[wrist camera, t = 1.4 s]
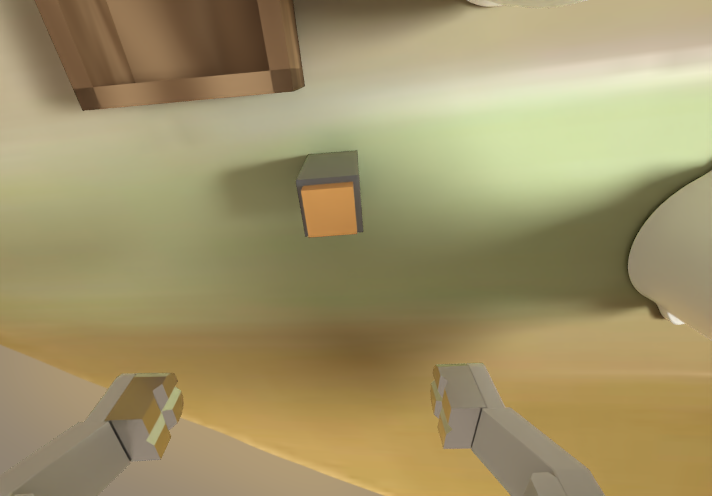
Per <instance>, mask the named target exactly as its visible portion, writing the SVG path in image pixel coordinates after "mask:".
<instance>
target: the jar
mask: <svg viewBox="0 0 712 496" xmlns="http://www.w3.org/2000/svg"><path fill="white" fill-rule="evenodd" d="M467 1H469V2H471V3H473V4H476V5H480V6H486V7H495V6H501V5H505V6H518V7H525V8H553V7H560V6H566V5H571V4H576V3H580V2H583V1H587V0H467Z"/></svg>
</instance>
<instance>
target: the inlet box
mask: <svg viewBox="0 0 712 496" xmlns="http://www.w3.org/2000/svg"><path fill="white" fill-rule="evenodd" d="M35 3H36V5H37V7H38V9H39V12H40V14H41V16H42V19H43V21H44V23H45V25H46V28H47V30H48V32H49V35H50V37H51V39H52V41H53V44H54V46H55V48H56V51H57V53H58V55H59V58H60V60H61V62H62V64H63V67H64V69H65V71H66V74H67V76H68V78H69V80H70V83H71V85H72V87H73V90H74V92H75V94H76V96H77V99H78V101H79V103H80V106H81V108H82V110H83V111H84V110H95V109H106V108H117V107H127V106H138V105H149V104H160V103H171V102H182V101H193V100H204V99H215V98H226V97H237V96H248V95H259V94H270V93H281V92H292V91H295V90H298V89H300V88H302V87H304V86H305V84H304V77H303V70H302V63H301V55H300V48H299V41H298V34H297V27H296V19H295V12H294V5H293V0H35Z"/></svg>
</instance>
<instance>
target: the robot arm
mask: <svg viewBox="0 0 712 496" xmlns="http://www.w3.org/2000/svg"><path fill="white" fill-rule="evenodd" d="M628 273H629V277H630V280H631V282H632V284H633V286H634V287H635V289H636V290H637V291H638V292H639V293H641V294H642V295H643V296H645V297H647V298H648V299H650V300H652V301H654V302H655V303H656V304H657V305H658V308H659V310H660V312H661V314H662V316H663V317H664V318H665V319H667V320H668V321H670V322H671V323H673V324H677V325H680V324H687V325H688V326H690V327H691V328H693V329H694V330H696V331H698V332H699V333H701V334H702V335H704V336H705V337H707V338H708V339H710V340H711V341H712V170H711V171H710V172H708V173H707V174H705V175H703V176H702V177H700V178H698V179H696V180H695V181H693V182H691V183H689V184H688V185H686V186H685V187H683V188H681V189H680V190H679V191H677V192H676V193H675V194H673V195H672V196H671V197H669V198H668V199H667V200H666V201H665V202H664V203H662V204H661V205H660V206H659V207H658V208H657V209H656V210H655V211H654V212H653V214H652V215H651V216H650V217H649V218H648V219H647V221H646V222H645V223H644V225H643V226H642V228H641V229H640V231H639V232H638V234H637V236H636V238H635V240H634V242H633V245H632V247H631V250H630V254H629V259H628ZM433 376H434V379H435V380H434V381H433V382H432V383H431V390H430V392H431V403H432V408H433V412H434V415H435V416H436V417H437V418H439V422H438V431H439V435H440V438H441V442H442V445H443V449H461V448H472V449H471V450H472V451H473V452H474V454H475V455H476V456H477V457H478V458H479V459H480V460H481V462H482V463H483V464H484V465H485V466H486V467H487V468H488V470H489V471H490V472H491V473H492V474H493V475H494V476H495V478H496V479H497V480H498V481H499V482H500V483H501V484H502V486H503V487H504V488H505V489H506V490H507V491H508V492H509V494H510V495H511V496H605V495H604V493H603V491H602V490H601V488H600V487H599V485H598V483H597V482H596V480H595V478H594V477H593V475H592V474H591V472H590V470H589V469H588V468H586V467H585V466H584V465H583V464H581V463H580V462H579V461H578V460H576V459H575V458H574V457H572V456H571V455H570V454H569V453H567V452H566V451H565V450H564V449H562V448H561V447H560V446H559V445H557V444H556V443H555V442H553V441H552V440H551V439H550V438H548V437H547V436H546V435H545V434H543V433H542V432H541V431H539V430H538V429H537V428H536V427H534V426H533V425H532V424H531V423H529V422H528V421H527V420H525V419H524V418H523V417H522V416H520V415H519V414H518V413H517V412H515V411H514V410H513V409H512V408H505V406H504V404H503V402H502V399H501V397H500V395H499V393H498V391H497V389H496V387H495V385H494V383H493V381H492V379H491V377H490V375H489V373H488V371H487V369H486V367H485V365H484V364H483V363H469V364H465V363H464V364H441V365H435V366H434V369H433ZM177 382H178V381H177V378H176V376H175V374H173V373H136V374H121V375H120V376H118V377H117V378H116V379H115V380H114V382H113V383H112V384H111V386H110V387H109V388H108V390H107V391H106V392H105V394H104V395H103V397H102V398H101V399H100V401H99V402H98V403H97V405H96V406H95V407H94V409H93V410H92V411H91V413H90V414H89V416H88V417H87V419H86V420H85V421H84V422H79V423H77V424H76V425H74V426H72V427H71V428H69V429H68V430H67V431H65V432H63V433H62V434H61V435H59V436H57V437H56V438H55V439H53V440H52V441H50V442H49V443H47V444H46V445H44V446H43V447H41V448H40V449H38V450H37V451H35V452H34V453H32V454H31V455H29V456H28V457H26V458H25V459H23V460H22V461H21V462H19V463H17V464H16V465H15V466H13V467H12V468H10V469H9V470H7V471H6V472H4V473H3V474H1V475H0V496H98V495H99V494H100V493H101V492H102V491H103V490H104V489H105V488H106V487H107V486H108V485H109V484H110V483H111V482H112V481H113V480H114V479H115V478H116V477H117V476H118V475H119V474H120V473H121V472H122V471H123V470H124V469H125V468H126V467H127V466H128V465H129V464H130V461H146V460H161V458H162V455H163V453H164V451H165V449H166V447H167V445H168V443H169V441H170V438H171V435H170V432H169V430H170V429H171V428H172V427H174V426H175V425H176V424H177V423H178V421H179V419H180V417H181V414H182V409H183V404H184V402H183V395H182V392H181V391H180V390H179V389H178V388H176V387H175V385H176V384H177Z"/></svg>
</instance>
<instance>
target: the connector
mask: <svg viewBox="0 0 712 496" xmlns="http://www.w3.org/2000/svg"><path fill="white" fill-rule="evenodd" d="M296 185H297V191H298V196H299V202H300V208H301V214H302V220H303V226H304V231H305V237H307V236H308V237H322V236H334V235H347V234H357V233H358V232H363V221H362V207H361V193H360V180H359V168H358V155H357V150H355V151H343V152H331V153H320V154H308V156H307V158H306V160H305V162H304V164H303V166H302V168H301V170H300V172H299V174H298V177H297V179H296Z"/></svg>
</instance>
